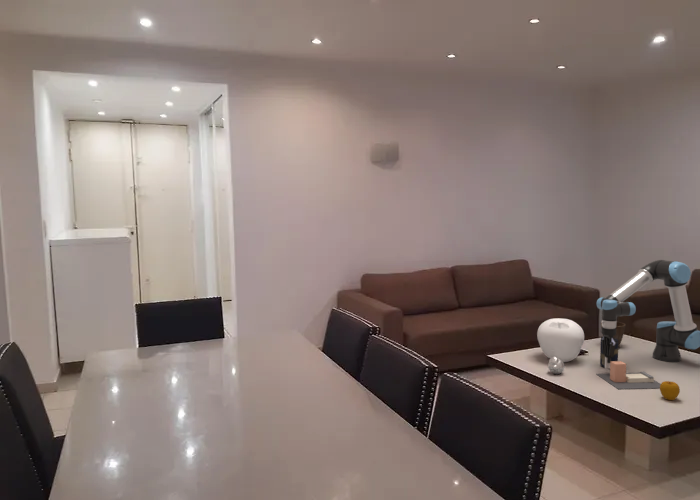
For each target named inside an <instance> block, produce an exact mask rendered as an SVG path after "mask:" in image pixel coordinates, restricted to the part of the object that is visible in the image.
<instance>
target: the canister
mask: <svg viewBox="0 0 700 500" xmlns="http://www.w3.org/2000/svg"><path fill="white" fill-rule="evenodd" d="M614 342H616V343H617V344H616V346H615V352H614V357H611V361H619V347H618V340H617V339H615V338H614ZM599 353H600V356H599V364H600V366H601V367H603V368H605V356H604V354H603V350H602V340H601V339H600V350H599Z"/></svg>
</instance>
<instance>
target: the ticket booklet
mask: <svg viewBox="0 0 700 500" xmlns="http://www.w3.org/2000/svg"><path fill="white" fill-rule="evenodd" d="M639 373H641V374H626V382H628V383H639V382H654V380H655V377H654V376H653V375H651V374H650V373H648V372H645V371H640V372H639Z"/></svg>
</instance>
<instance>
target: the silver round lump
mask: <svg viewBox="0 0 700 500" xmlns="http://www.w3.org/2000/svg"><path fill="white" fill-rule="evenodd" d="M565 367H566V366H565V362H563V361H562V360H560V359H558V358H557V357H552V358H549V360H548V365H547V368H548V370H549V371H550V372H551V373H552V374H555V375H558V374H561V373H564V371H565V369H566V368H565Z"/></svg>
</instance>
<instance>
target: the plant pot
mask: <svg viewBox="0 0 700 500" xmlns="http://www.w3.org/2000/svg"><path fill="white" fill-rule="evenodd" d="M601 329H602V323H601V322H600V330H601ZM625 329H626V323H624V322H620V321H617V326H616V335H614V338H615V339H617V340H618V348H620V345H621V343H622V340H623V338H624V333H625ZM601 335H602V336H603V334H602V333H601Z"/></svg>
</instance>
